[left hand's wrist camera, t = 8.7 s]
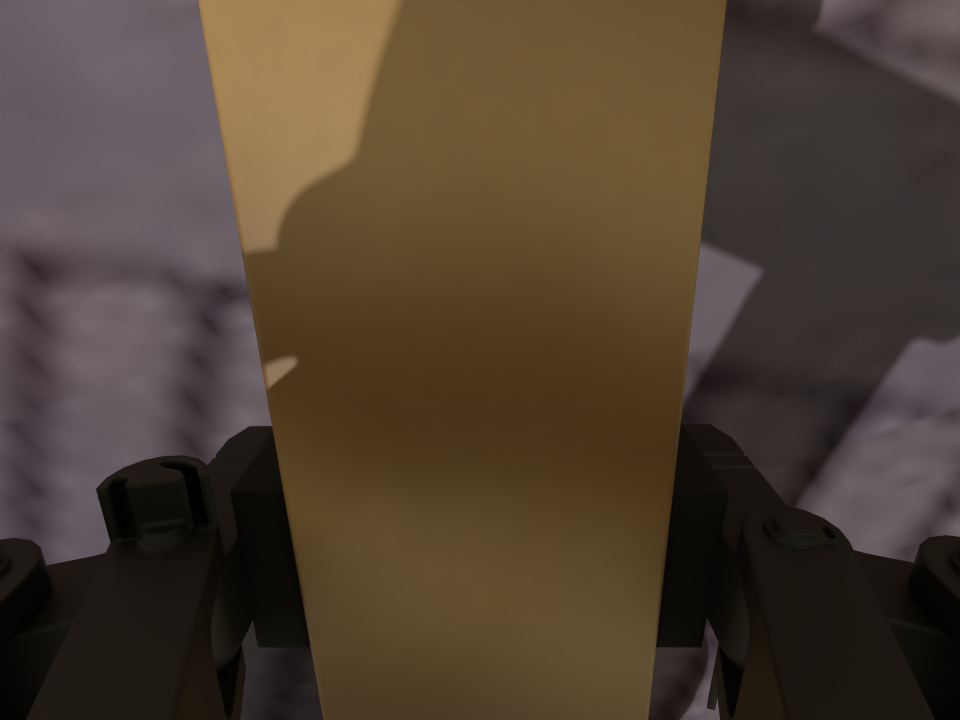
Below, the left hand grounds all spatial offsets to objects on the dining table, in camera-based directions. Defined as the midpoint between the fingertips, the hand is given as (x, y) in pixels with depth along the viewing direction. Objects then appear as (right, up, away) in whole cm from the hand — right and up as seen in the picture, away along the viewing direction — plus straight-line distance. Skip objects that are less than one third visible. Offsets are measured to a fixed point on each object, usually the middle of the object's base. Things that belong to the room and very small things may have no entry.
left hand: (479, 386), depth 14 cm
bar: (-1, +32, -12) cm, 34 cm away
